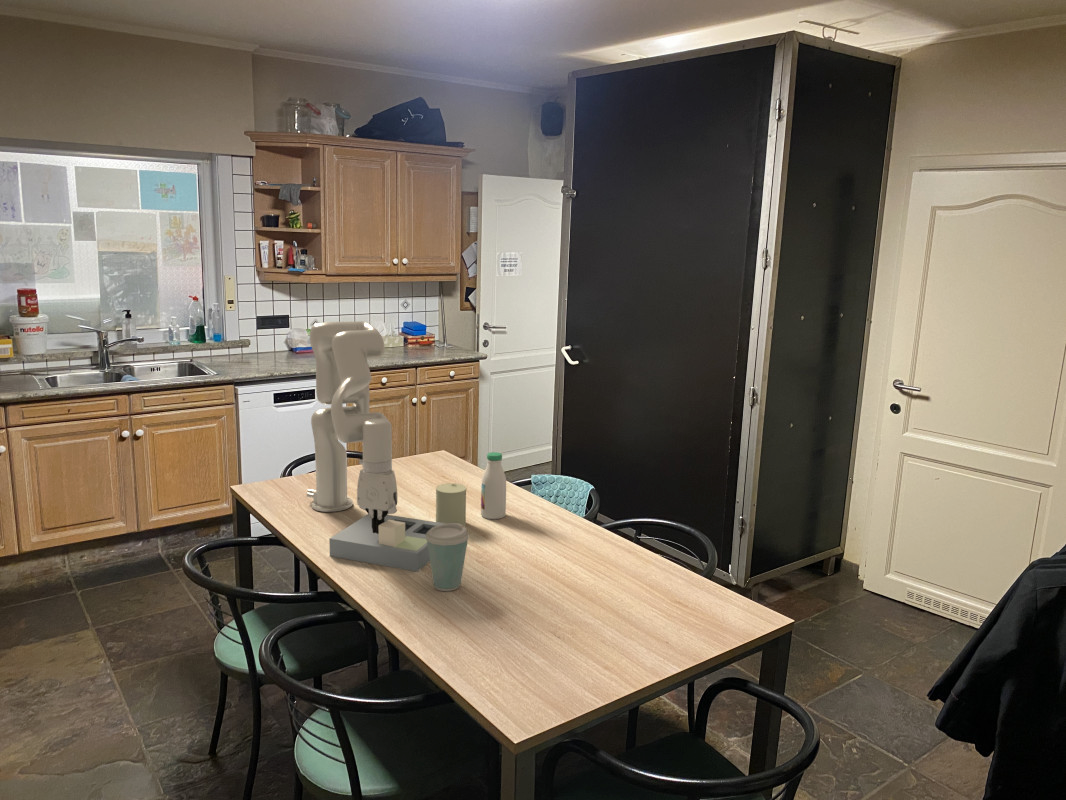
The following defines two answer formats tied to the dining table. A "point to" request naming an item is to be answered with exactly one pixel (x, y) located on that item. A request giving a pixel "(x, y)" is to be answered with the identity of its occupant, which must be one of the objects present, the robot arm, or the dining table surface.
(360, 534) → the box
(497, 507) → the milk bottle
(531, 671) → the dining table surface
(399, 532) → the block
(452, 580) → the disposable coffee cup
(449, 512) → the can
